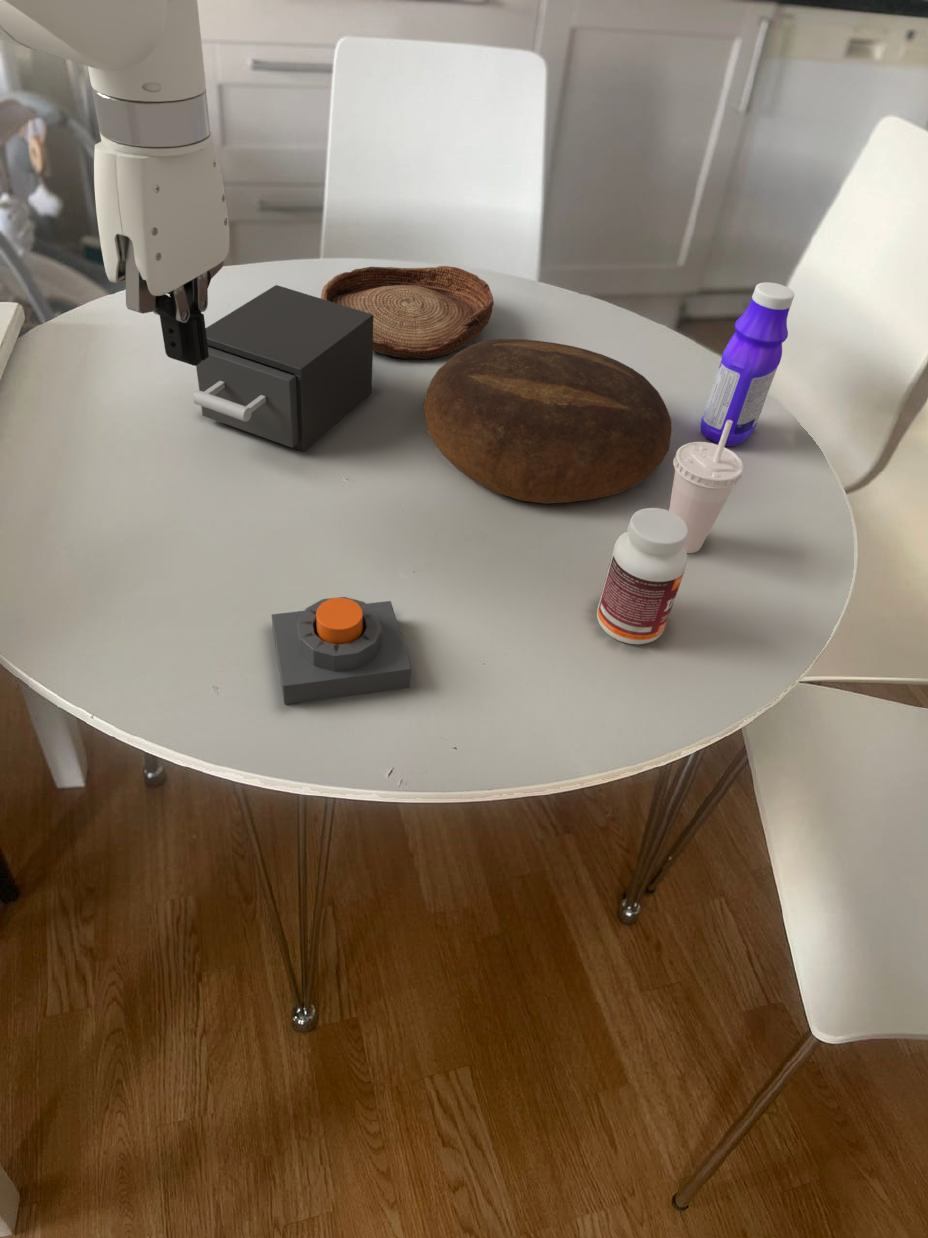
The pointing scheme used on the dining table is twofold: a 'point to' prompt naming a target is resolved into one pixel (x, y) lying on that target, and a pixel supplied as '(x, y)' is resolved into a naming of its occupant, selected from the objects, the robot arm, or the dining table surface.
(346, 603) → the button
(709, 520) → the smoothie
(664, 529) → the pill bottle
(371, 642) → the control block
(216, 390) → the fryer drawer
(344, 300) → the basket
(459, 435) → the bread
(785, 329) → the bottle
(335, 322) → the grey drawer cabinet
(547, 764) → the dining table surface
